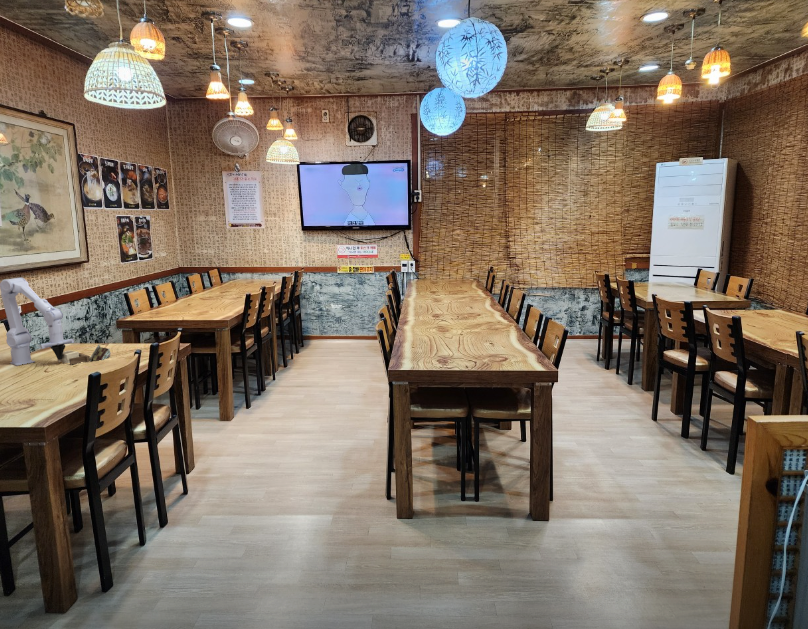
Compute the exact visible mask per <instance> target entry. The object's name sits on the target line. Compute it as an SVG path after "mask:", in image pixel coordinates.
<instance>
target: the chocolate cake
mask: <svg viewBox="0 0 808 629" xmlns="http://www.w3.org/2000/svg"><path fill="white" fill-rule="evenodd" d="M111 354H112V352H111V350H110V348H107V347H103V346H101V345H100V344H98V345H97V346H96V348H95V349H94V351H93V353H92V354H91V355H90V362H93V361H99V360H101V361H104V360H106V359H107V358H108V359H109V358H110V357H111ZM92 360H93V361H92Z"/></svg>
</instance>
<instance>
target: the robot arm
mask: <svg viewBox="0 0 808 629" xmlns="http://www.w3.org/2000/svg"><path fill="white" fill-rule="evenodd" d="M18 294H22V295H23V296H25V297H26V298H27V299H28V300H30V301H31V302H32V303H34V304H33V306H34V308H35V309H36V310H38V311H39V313H41V315H43V320H44V321H45V322H46V325H47V327H48V334H49V342H46V343H41V344H40V345H39V347H40V349H43V350H44V349H45V348H50V349H51V350H52V351H53V353H54V355H55V356H56V359H57V360H61V359H62V355H63V352H65V349H66V345H67V344H74V343H75V340H74V338H68V339H64V333H63V324H62V319H64V313H63V311H62V310H61V309H60V308H56V307H54V306H53V305H52V304H51V303H50V302H48V300H47V299H45V298H41V297H39V296H38V294H37V293H36V292H35V291H34V290H33V289H32V287H30V285H29V282H28V281H27V280H26V278H24V277H14V278H7V279H6V278H5V279H2V281H0V295H1V296H0V297H1V301H2V304H3V308H4V311H5V314H6V319H7V322H8V325H9V326H8V327H9V330H8V331H7V332H6V335H5V336H6V344H7V345H8V347H10V357H11V361H9V362H10V363H9V364H11V365H13V366H23V365H27V363H28V364H31V363H32V364H33V363H35V360H32V357H31V348H30V345H31V343H32V341H33V336H32V335H31V333H30V331H29V329H28V328H27V327H25V326H24V325H23V322H22V317H21V313H20V309H19V306H18V302H17V299H16V297H17V296H18ZM22 364H23V365H22Z"/></svg>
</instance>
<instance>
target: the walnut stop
mask: <svg viewBox="0 0 808 629" xmlns="http://www.w3.org/2000/svg"><path fill="white" fill-rule="evenodd" d="M90 357H91V355H88V354H85V353H80V352H79V357H76V358H71V359H69V362H70V364H69V365H70V366H73V365H72V364H74V365H78V364H82V363H81V362H83V363H90V362H91V361H90ZM89 361H90V362H89ZM77 363H78V364H77Z"/></svg>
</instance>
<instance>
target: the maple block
mask: <svg viewBox="0 0 808 629" xmlns="http://www.w3.org/2000/svg"><path fill="white" fill-rule="evenodd" d="M79 353H80V352H79V351H74V350H64V351H63V355H62V359H61V360H58V359H57V360H58V363H60V362H62V363H61V364H66V363H70V362H69V359H71V358H76V357H79Z"/></svg>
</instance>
